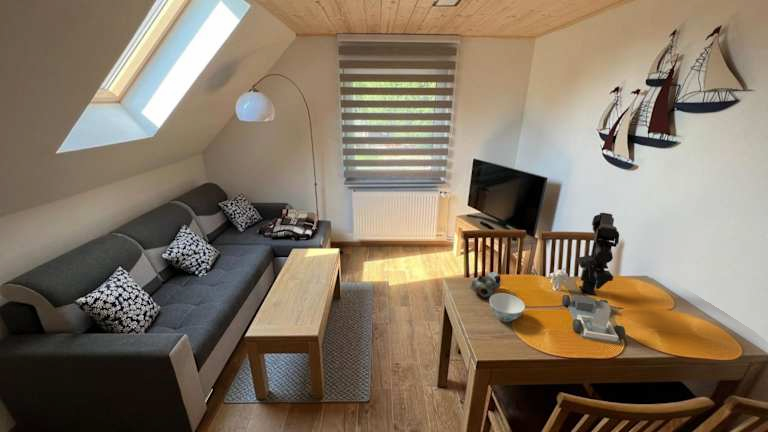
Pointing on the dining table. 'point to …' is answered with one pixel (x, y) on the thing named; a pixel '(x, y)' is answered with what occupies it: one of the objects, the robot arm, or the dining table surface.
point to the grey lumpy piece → (486, 284)
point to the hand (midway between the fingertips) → (593, 283)
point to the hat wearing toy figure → (558, 278)
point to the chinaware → (506, 306)
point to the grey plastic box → (599, 317)
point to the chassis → (581, 316)
